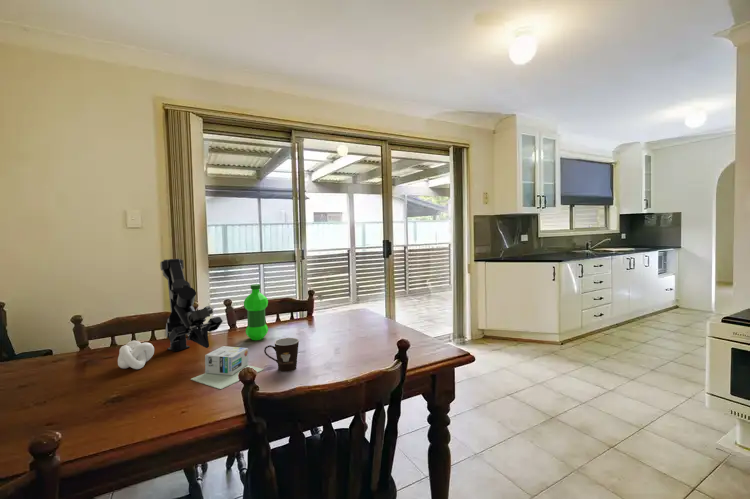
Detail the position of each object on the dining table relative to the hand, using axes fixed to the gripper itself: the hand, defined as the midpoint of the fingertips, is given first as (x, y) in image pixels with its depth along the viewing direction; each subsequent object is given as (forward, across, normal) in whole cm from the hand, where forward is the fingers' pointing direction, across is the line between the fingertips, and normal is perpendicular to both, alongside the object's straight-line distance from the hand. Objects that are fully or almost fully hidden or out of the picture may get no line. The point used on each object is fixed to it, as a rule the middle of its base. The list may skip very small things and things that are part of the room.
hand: (207, 347), depth 134 cm
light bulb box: (+4, +1, +2) cm, 5 cm away
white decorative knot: (-13, -11, +25) cm, 30 cm away
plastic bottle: (-3, +34, +15) cm, 37 cm away
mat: (+13, 0, -2) cm, 14 cm away
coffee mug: (+23, +14, -11) cm, 29 cm away
